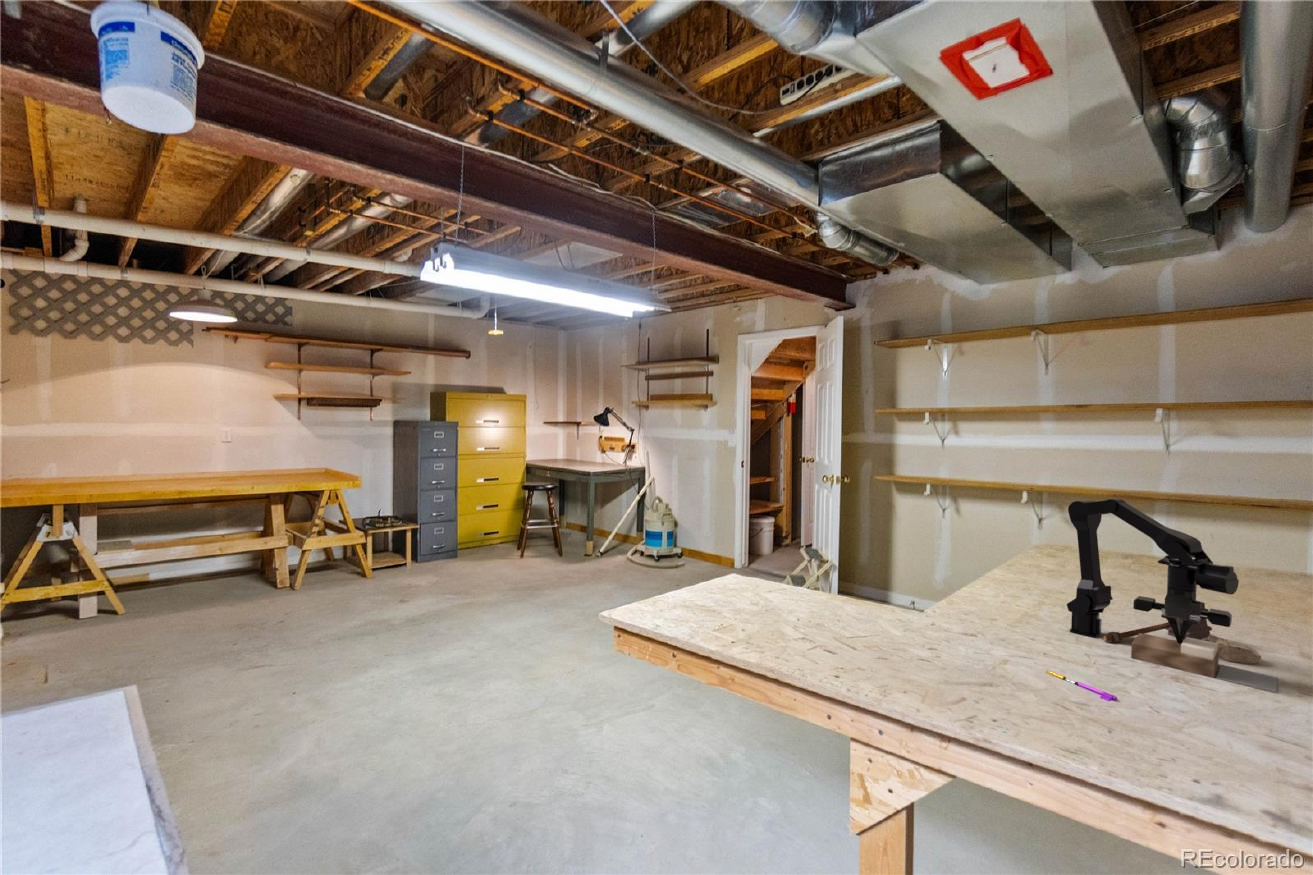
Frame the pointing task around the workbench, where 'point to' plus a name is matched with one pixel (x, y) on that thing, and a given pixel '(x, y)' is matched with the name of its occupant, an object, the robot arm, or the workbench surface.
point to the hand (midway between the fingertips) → (1179, 643)
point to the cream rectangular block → (1199, 648)
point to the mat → (1247, 678)
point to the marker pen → (1104, 695)
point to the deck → (1171, 655)
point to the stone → (1235, 651)
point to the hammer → (1194, 631)
